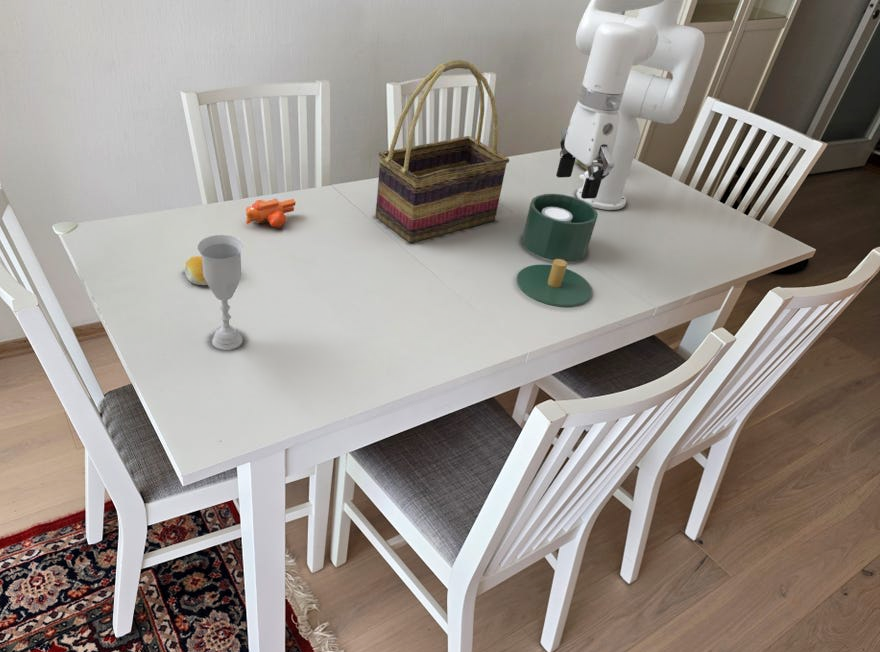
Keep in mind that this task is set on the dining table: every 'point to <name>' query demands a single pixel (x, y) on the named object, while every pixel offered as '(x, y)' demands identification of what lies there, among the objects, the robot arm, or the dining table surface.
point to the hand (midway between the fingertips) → (575, 187)
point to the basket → (440, 175)
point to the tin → (559, 228)
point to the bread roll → (195, 271)
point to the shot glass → (557, 214)
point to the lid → (554, 284)
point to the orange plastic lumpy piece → (269, 212)
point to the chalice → (223, 281)
